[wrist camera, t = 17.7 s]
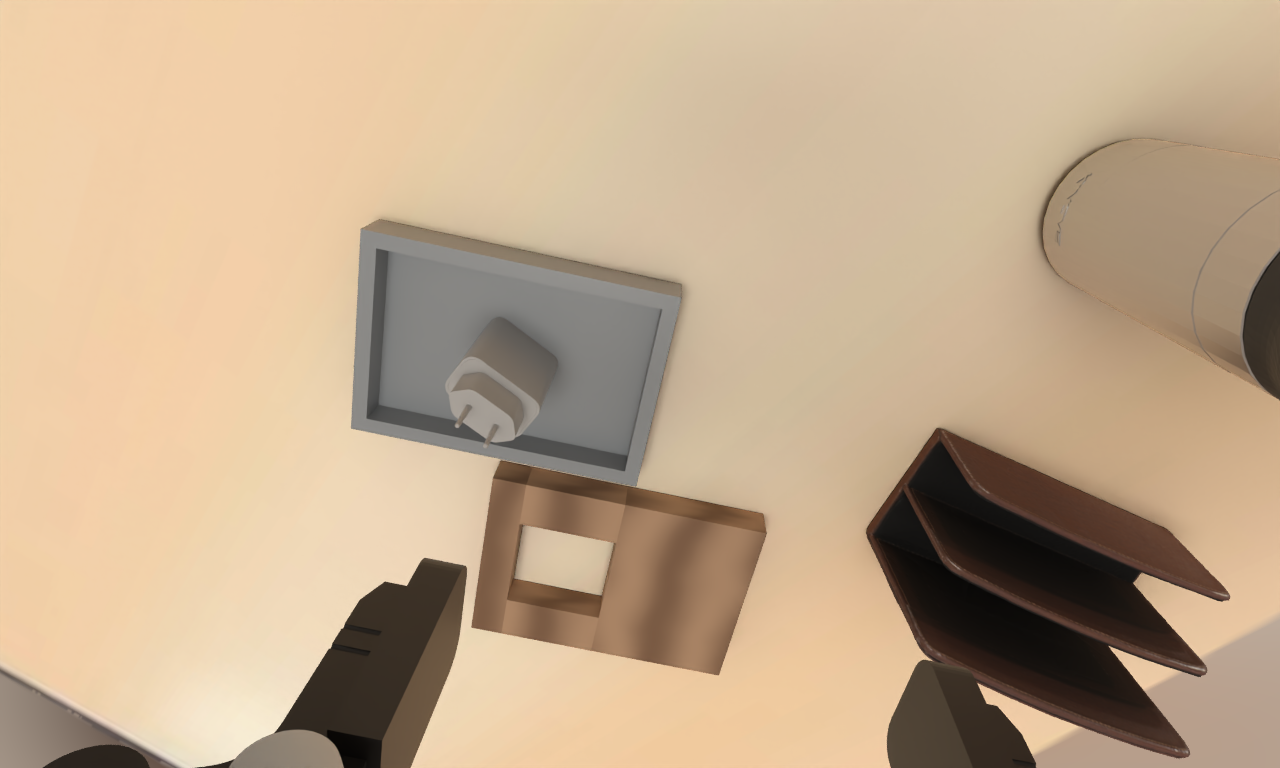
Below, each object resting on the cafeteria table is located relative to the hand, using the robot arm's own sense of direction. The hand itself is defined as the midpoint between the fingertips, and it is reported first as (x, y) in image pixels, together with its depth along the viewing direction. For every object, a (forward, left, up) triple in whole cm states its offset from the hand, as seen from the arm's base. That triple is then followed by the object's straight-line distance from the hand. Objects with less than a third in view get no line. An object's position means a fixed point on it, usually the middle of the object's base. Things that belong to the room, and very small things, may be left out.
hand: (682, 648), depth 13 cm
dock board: (-1, +27, -37) cm, 45 cm away
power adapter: (+9, +11, -36) cm, 38 cm away
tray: (+9, +11, -37) cm, 39 cm away
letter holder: (-29, +17, -37) cm, 50 cm away
